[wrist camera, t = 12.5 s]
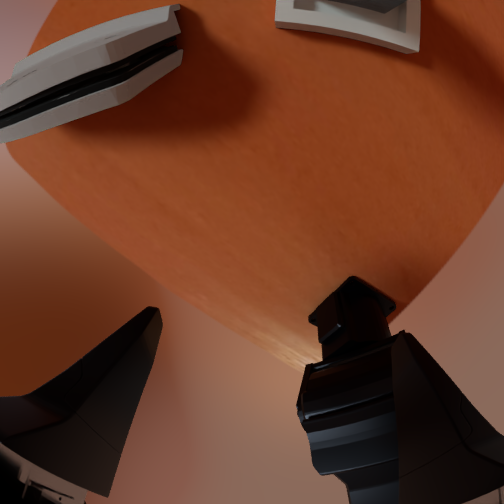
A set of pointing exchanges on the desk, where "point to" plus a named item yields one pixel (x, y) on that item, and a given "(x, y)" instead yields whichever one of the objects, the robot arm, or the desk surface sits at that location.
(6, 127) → the white electronic device
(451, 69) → the desk surface
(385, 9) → the tan and grey block
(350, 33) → the white square tray
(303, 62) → the desk surface
